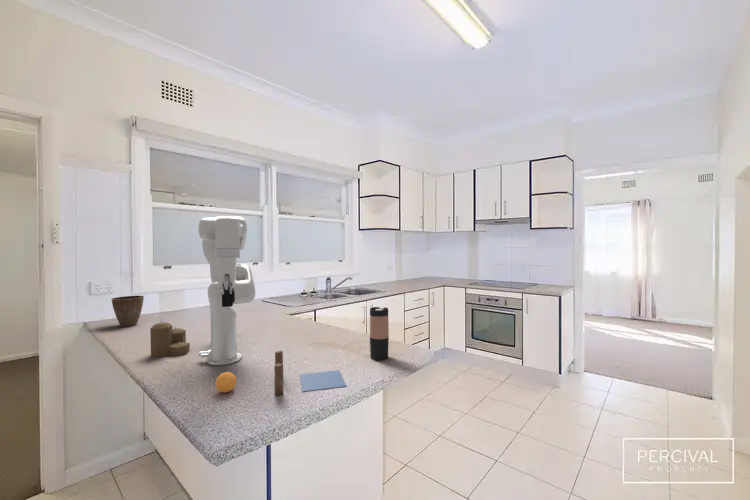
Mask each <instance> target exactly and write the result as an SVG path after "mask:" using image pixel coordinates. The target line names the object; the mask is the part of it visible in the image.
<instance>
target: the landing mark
mask: <svg viewBox="0 0 750 500" xmlns="http://www.w3.org/2000/svg"><path fill="white" fill-rule="evenodd" d="M299 378H300V379H299V380H300V385H301V386H300V387H301V391H302V393H304V392H314V391H320V390H321V391H322V390H328V389H329V390H330V389H336V388H344V387H347V383H346V382H345V380H344V377H343V376H342V374H341V371H340V370H339V369H337V370H330V371H327V370H326V371H320V372H310V373H309V372H308V373H302V374H301V373H300V374H299Z"/></svg>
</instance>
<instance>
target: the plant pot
mask: <svg viewBox="0 0 750 500" xmlns="http://www.w3.org/2000/svg"><path fill="white" fill-rule="evenodd" d="M144 299H145V296H144V295H126V296H124V295H123V296H117V297H114V298H113V297H112V298H111V304H112V308H113V312H114V314H115V317H116V319H117V321H118V324H119V325H120V327H122V328H127V327H128V328H129V327H134V326H136V325H137V324H138V323H139V320H140V317H141V313H142V309H143V305H144V304H143V303H144Z"/></svg>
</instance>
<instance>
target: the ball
mask: <svg viewBox="0 0 750 500" xmlns="http://www.w3.org/2000/svg"><path fill="white" fill-rule="evenodd" d="M236 384H237V377H236V375H235V374H234V373H232V372H231V371H226V372H225V371H224V372H222V373H221V374H219V375H218V376H217V378H216V379H215V388H216V390H218V392H220V393H222V394H223V393H229V392H231V391H232V390H234V388H235V387H236Z"/></svg>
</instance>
